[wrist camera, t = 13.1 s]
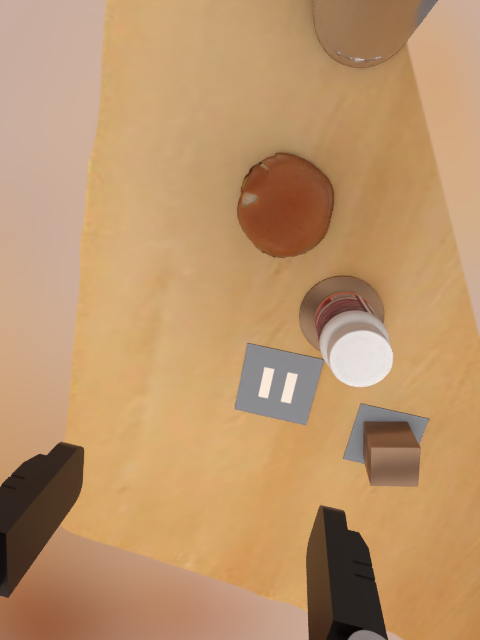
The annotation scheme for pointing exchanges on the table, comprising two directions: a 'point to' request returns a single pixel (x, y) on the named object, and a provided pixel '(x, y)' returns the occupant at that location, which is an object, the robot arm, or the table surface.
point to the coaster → (329, 288)
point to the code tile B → (379, 415)
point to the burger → (285, 205)
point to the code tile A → (278, 384)
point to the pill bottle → (353, 340)
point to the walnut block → (391, 454)
